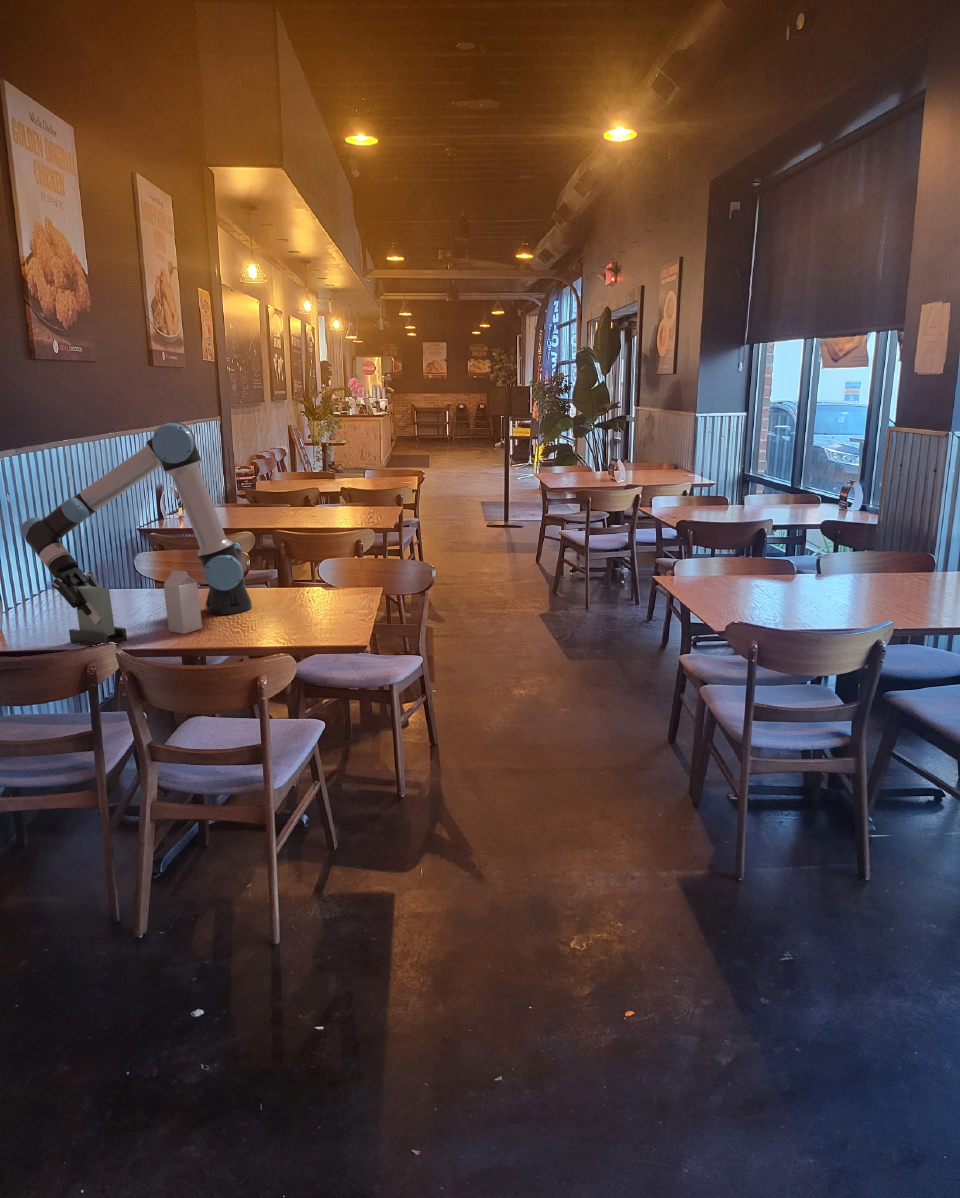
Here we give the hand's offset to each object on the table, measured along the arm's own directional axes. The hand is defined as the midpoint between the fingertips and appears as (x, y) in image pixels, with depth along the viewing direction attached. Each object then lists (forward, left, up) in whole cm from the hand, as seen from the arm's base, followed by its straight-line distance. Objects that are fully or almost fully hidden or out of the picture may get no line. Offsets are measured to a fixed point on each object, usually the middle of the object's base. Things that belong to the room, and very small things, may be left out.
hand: (104, 619), depth 252 cm
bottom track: (+4, -1, -7) cm, 8 cm away
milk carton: (-16, -16, -7) cm, 24 cm away
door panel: (+4, -1, -5) cm, 6 cm away
